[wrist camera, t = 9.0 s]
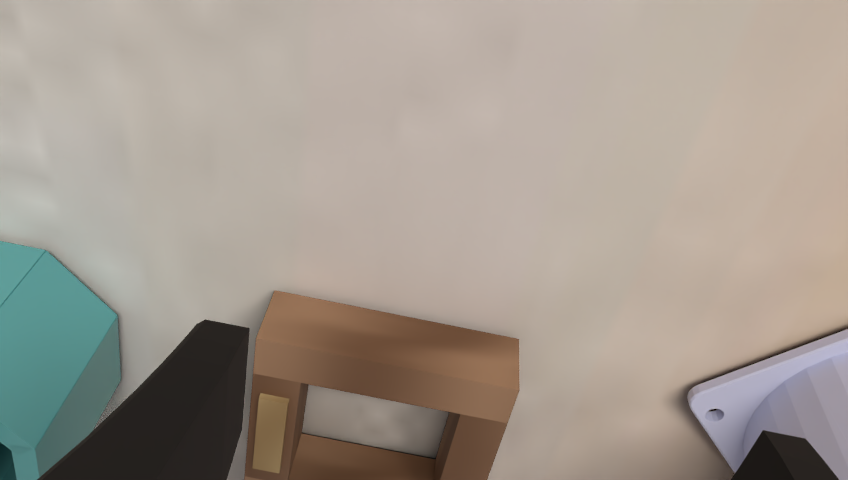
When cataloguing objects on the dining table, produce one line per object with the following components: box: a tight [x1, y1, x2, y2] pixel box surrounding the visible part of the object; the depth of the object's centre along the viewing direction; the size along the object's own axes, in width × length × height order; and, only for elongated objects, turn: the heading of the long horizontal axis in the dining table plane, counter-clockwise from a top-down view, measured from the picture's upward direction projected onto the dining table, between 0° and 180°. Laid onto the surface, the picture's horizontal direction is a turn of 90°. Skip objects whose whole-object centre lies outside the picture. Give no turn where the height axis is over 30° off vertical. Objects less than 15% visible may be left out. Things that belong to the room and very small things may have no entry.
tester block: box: [244, 291, 519, 480], centre depth 24 cm, size 7×7×2 cm
